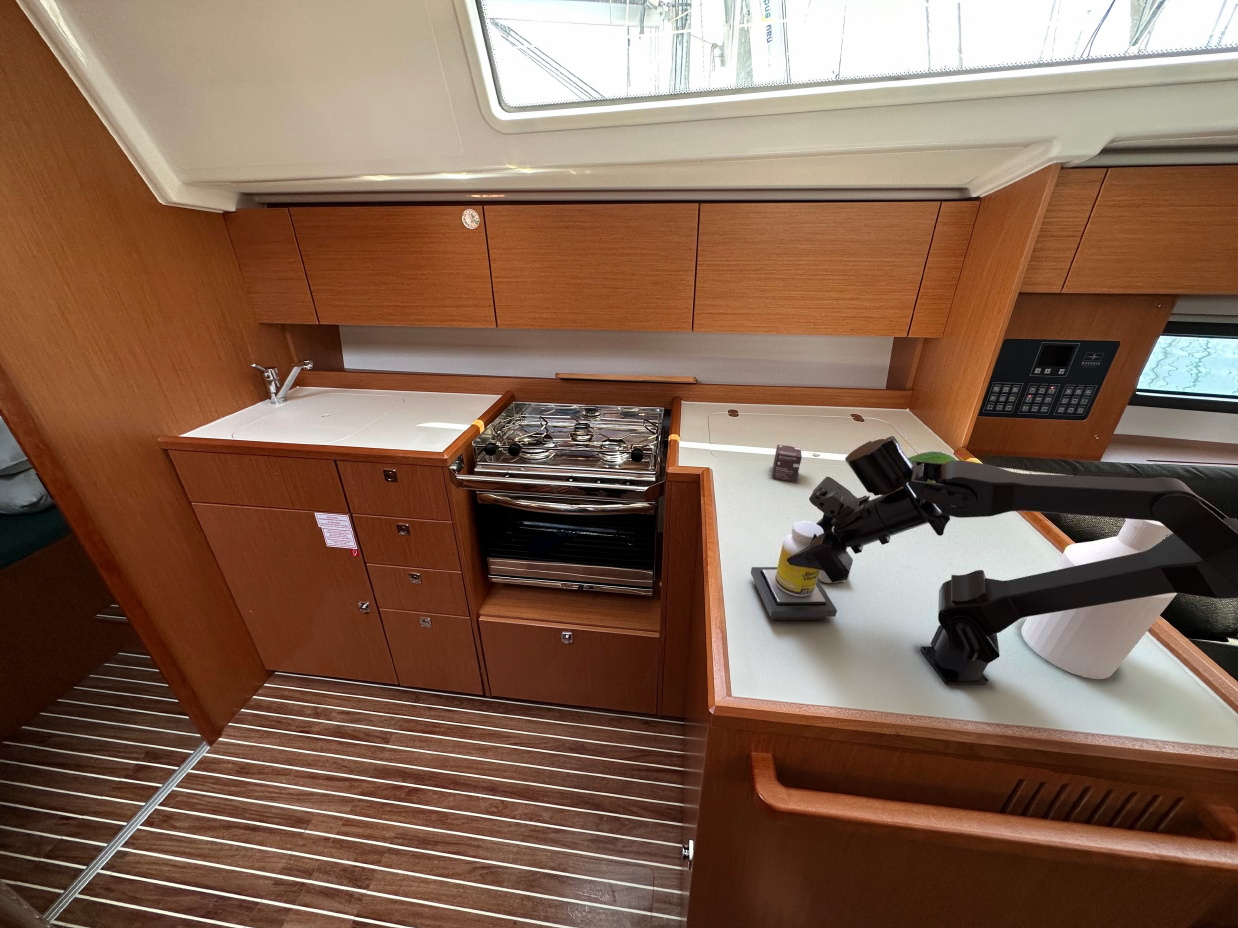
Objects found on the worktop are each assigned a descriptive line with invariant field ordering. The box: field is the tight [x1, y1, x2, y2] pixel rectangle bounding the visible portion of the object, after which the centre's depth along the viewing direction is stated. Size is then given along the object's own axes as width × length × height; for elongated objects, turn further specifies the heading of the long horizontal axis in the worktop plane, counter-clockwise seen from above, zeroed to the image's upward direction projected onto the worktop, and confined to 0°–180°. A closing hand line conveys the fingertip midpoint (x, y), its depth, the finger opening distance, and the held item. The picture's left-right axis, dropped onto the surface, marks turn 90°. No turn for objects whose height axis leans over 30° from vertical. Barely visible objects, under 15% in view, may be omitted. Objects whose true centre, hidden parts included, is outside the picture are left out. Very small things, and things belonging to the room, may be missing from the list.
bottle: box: [1021, 518, 1178, 680], centre depth 69 cm, size 12×12×25 cm
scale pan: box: [762, 570, 826, 606], centre depth 81 cm, size 8×8×1 cm
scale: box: [750, 566, 838, 621], centre depth 81 cm, size 11×11×3 cm
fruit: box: [907, 451, 957, 483], centre depth 118 cm, size 15×10×10 cm, turn 85°
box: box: [771, 444, 803, 483], centre depth 122 cm, size 6×6×7 cm
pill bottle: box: [775, 520, 824, 596], centre depth 78 cm, size 6×6×12 cm
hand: (793, 550), depth 78 cm, fingers closed on pill bottle, 6 cm apart
